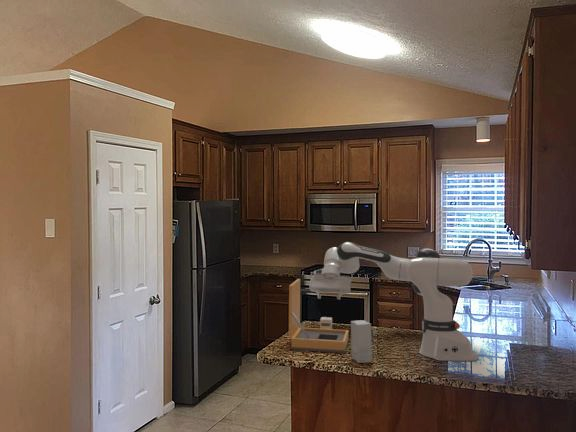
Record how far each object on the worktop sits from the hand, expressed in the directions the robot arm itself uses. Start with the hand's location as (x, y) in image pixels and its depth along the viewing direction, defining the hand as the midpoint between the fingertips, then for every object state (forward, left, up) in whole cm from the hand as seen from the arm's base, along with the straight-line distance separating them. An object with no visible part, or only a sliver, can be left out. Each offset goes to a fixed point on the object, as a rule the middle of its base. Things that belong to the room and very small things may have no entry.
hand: (328, 298), depth 249 cm
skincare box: (-18, +46, -15) cm, 52 cm away
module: (0, +10, -15) cm, 18 cm away
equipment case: (0, +28, -15) cm, 32 cm away
